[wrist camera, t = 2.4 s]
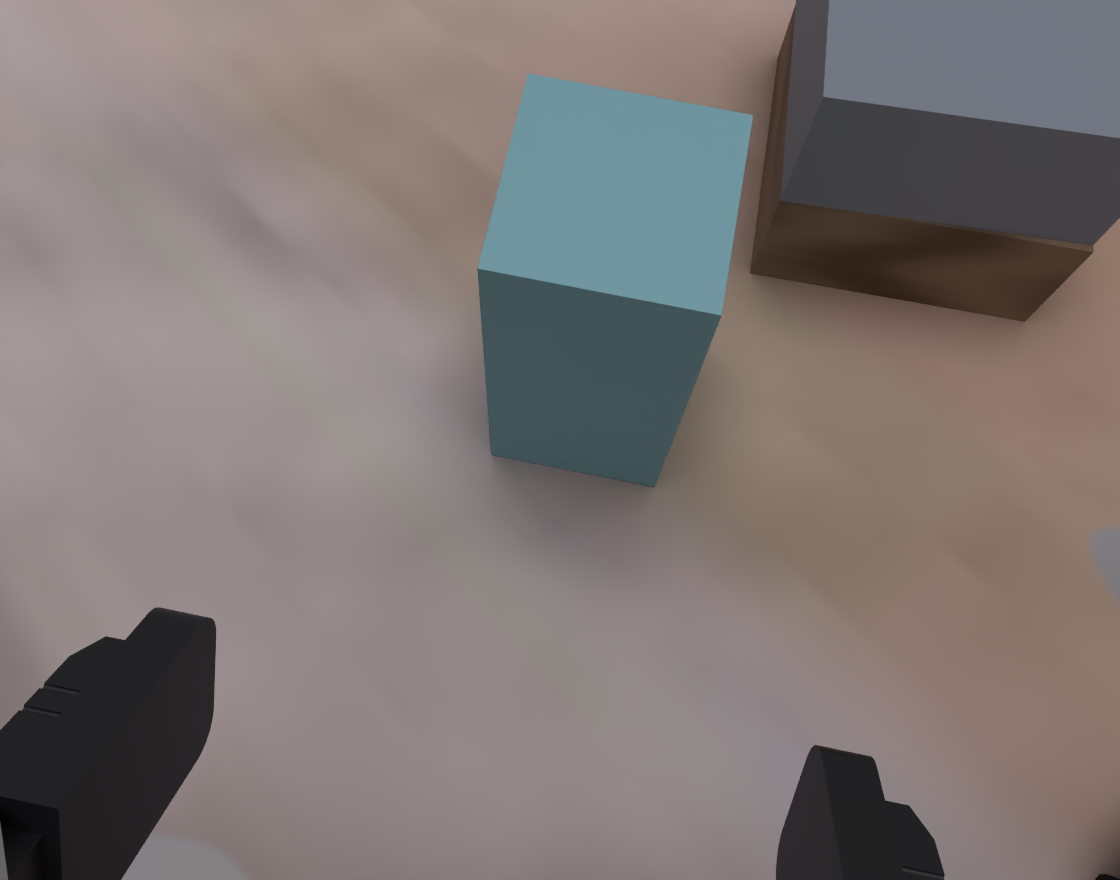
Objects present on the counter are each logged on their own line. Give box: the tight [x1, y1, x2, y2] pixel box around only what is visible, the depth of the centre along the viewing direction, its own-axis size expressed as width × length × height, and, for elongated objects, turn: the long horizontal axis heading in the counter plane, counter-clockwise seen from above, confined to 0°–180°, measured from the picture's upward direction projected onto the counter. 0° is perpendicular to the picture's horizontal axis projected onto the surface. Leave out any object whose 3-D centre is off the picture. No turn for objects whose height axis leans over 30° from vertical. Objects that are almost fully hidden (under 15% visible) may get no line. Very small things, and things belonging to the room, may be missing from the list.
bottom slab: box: [750, 5, 1093, 321], centre depth 33 cm, size 9×9×4 cm
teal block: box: [477, 73, 753, 487], centre depth 27 cm, size 5×5×11 cm
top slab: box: [780, 0, 1120, 245], centre depth 29 cm, size 9×9×4 cm
